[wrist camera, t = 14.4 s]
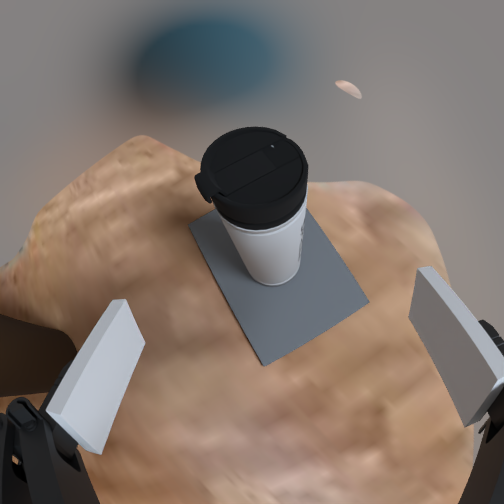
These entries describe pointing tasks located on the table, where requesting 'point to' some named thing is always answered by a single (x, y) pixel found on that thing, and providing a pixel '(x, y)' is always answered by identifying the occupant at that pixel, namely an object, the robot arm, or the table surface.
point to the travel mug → (259, 198)
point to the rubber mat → (281, 289)
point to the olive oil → (31, 357)
